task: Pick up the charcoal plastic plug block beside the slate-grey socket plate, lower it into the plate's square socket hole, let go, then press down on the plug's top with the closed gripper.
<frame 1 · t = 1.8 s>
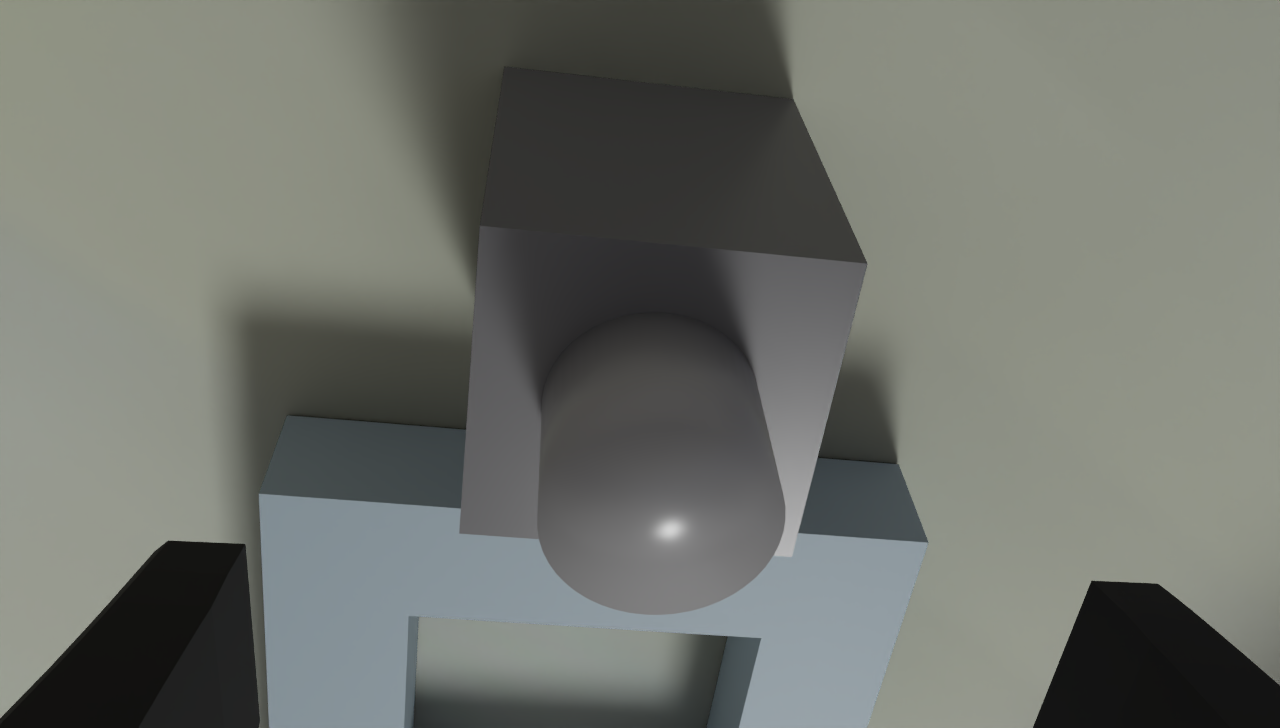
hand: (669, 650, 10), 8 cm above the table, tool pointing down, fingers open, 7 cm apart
socket plate: (570, 660, 22), on the table
plug: (632, 215, 18), on the table
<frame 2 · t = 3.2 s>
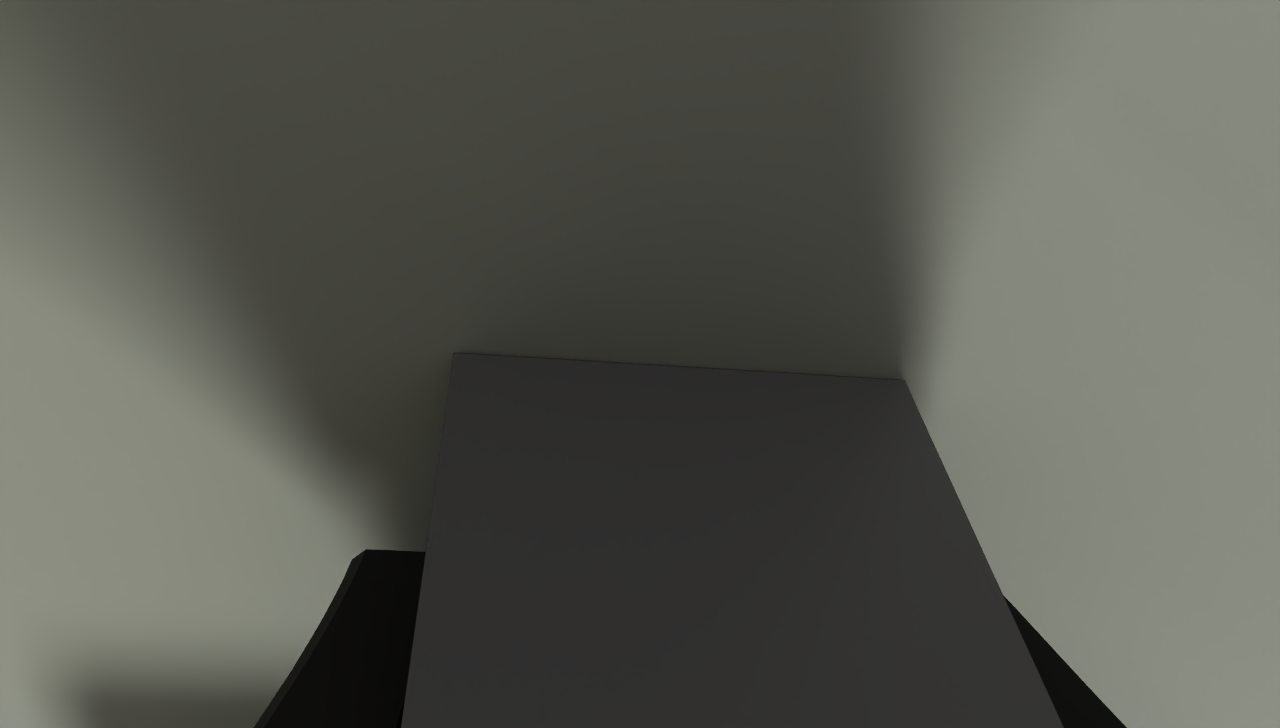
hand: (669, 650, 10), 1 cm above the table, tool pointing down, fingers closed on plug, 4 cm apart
plug: (657, 542, 12), on the table, touching gripper
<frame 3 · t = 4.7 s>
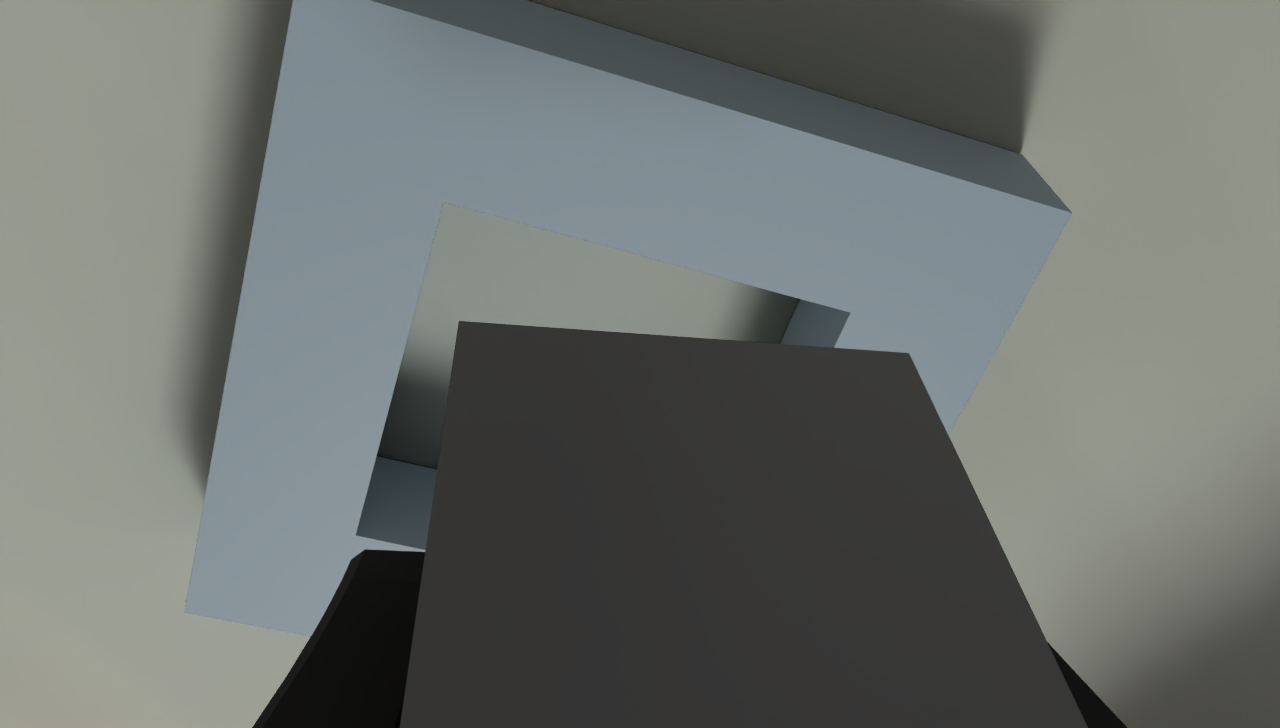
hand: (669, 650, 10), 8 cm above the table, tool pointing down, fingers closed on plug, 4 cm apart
socket plate: (589, 355, 19), on the table
plug: (660, 515, 12), point 7 cm above the table, touching gripper
when the fingers open (3 cm above the table, at t = 6.6 s): plug drops 1 cm, resting in socket plate.
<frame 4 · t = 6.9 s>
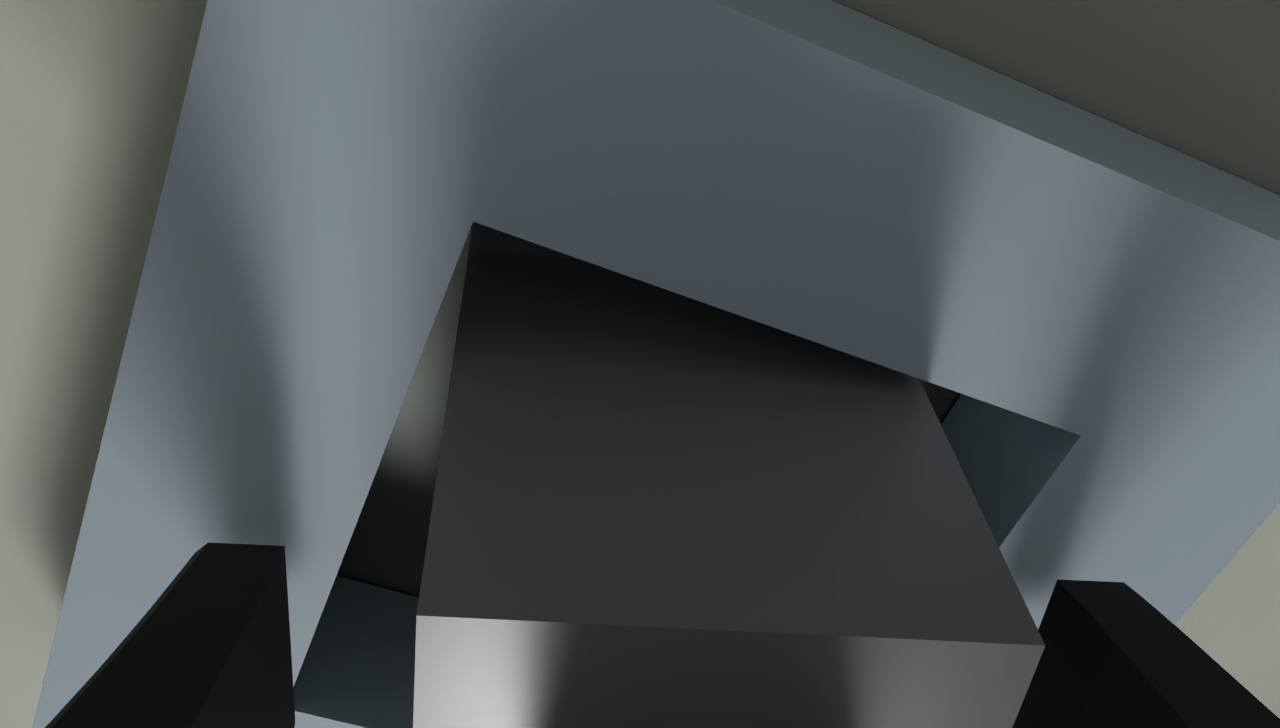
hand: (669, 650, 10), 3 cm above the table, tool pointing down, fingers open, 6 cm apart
socket plate: (648, 452, 13), on the table
plug: (649, 433, 13), resting in socket plate
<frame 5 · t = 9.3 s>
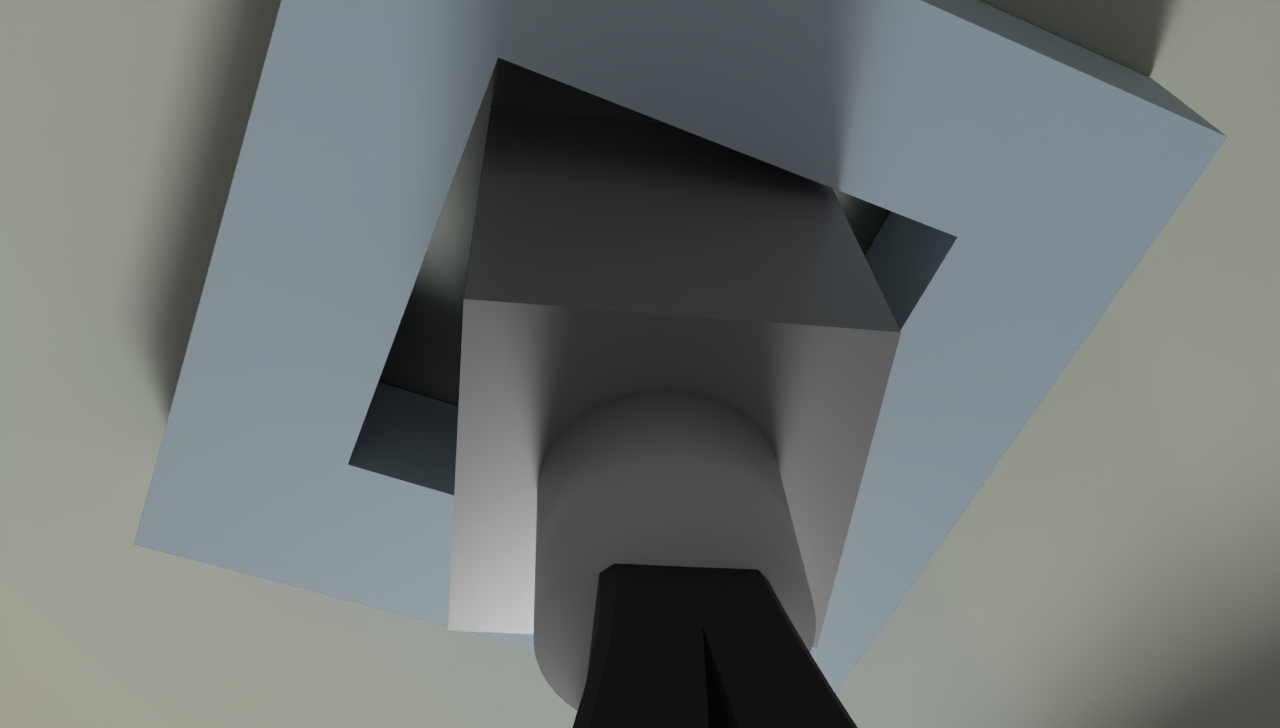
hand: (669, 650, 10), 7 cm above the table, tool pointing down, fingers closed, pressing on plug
socket plate: (631, 278, 16), on the table
plug: (632, 262, 16), resting in socket plate, touching gripper
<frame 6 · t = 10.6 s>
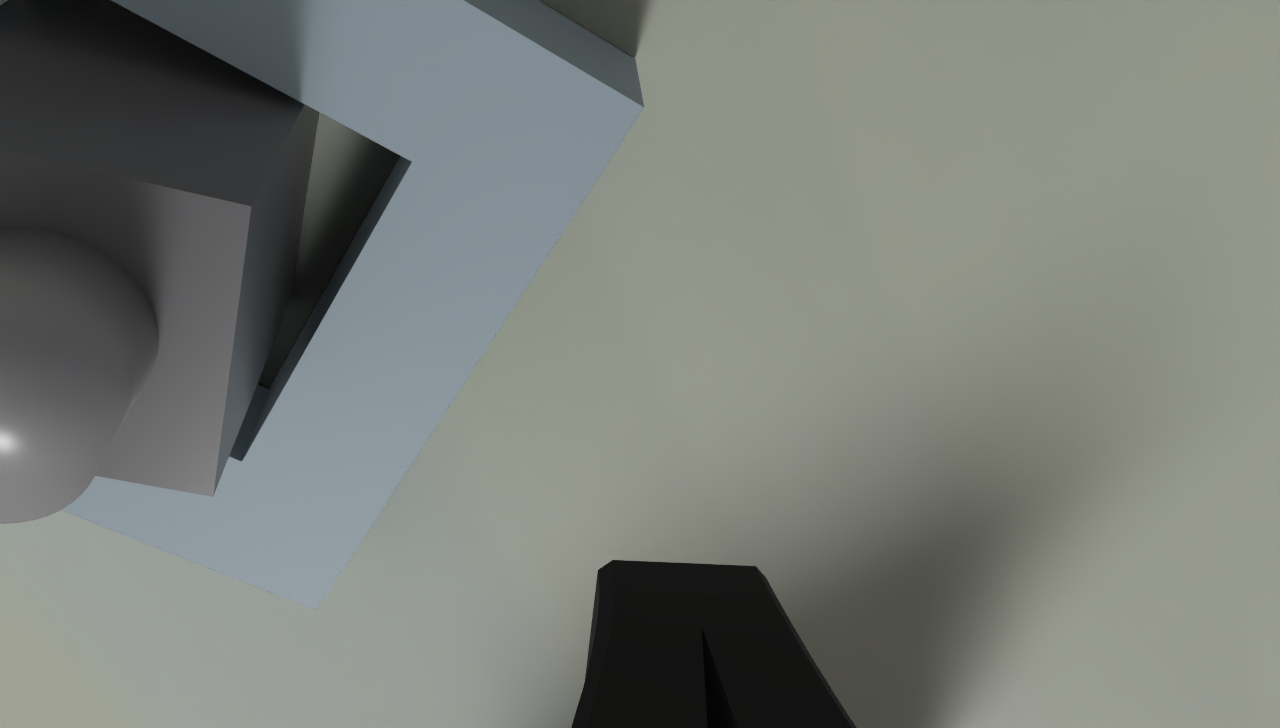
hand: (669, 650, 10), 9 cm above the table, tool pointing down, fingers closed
socket plate: (167, 170, 18), on the table
plug: (169, 156, 18), resting in socket plate
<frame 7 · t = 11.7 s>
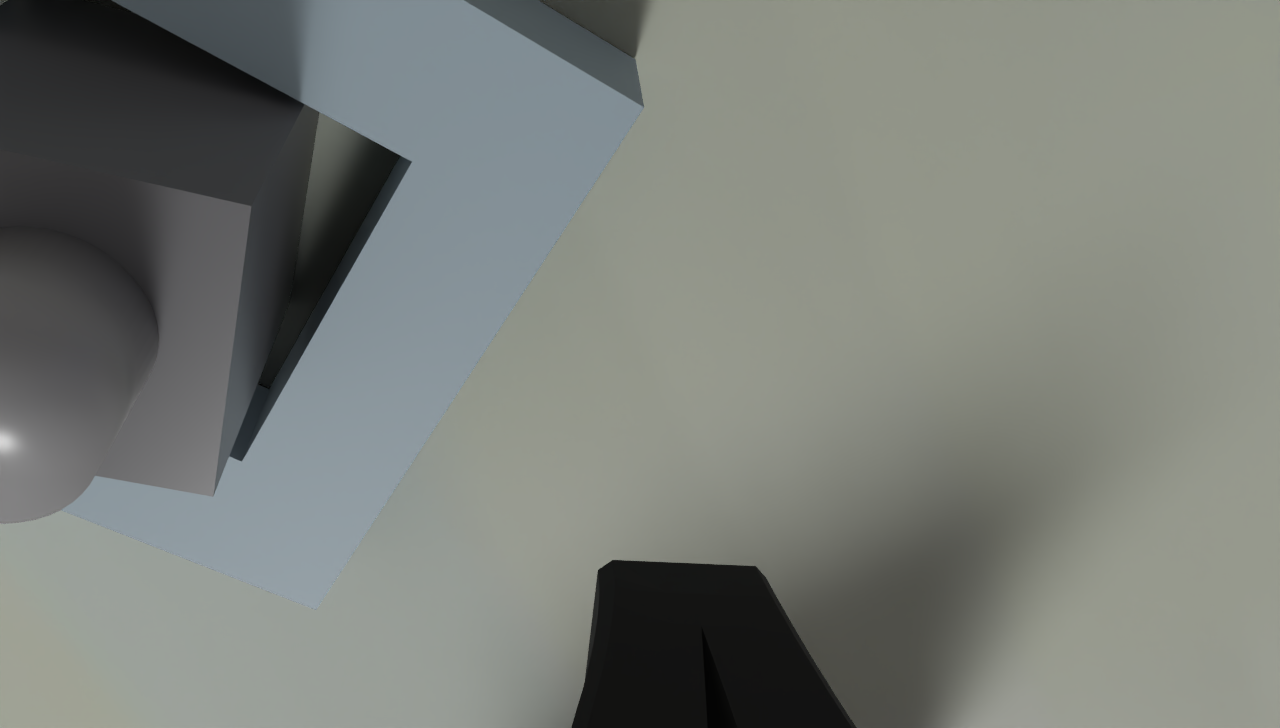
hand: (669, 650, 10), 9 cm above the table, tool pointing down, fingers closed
socket plate: (167, 170, 18), on the table
plug: (169, 156, 18), resting in socket plate
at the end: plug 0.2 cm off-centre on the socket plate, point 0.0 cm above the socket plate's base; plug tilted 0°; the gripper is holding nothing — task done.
